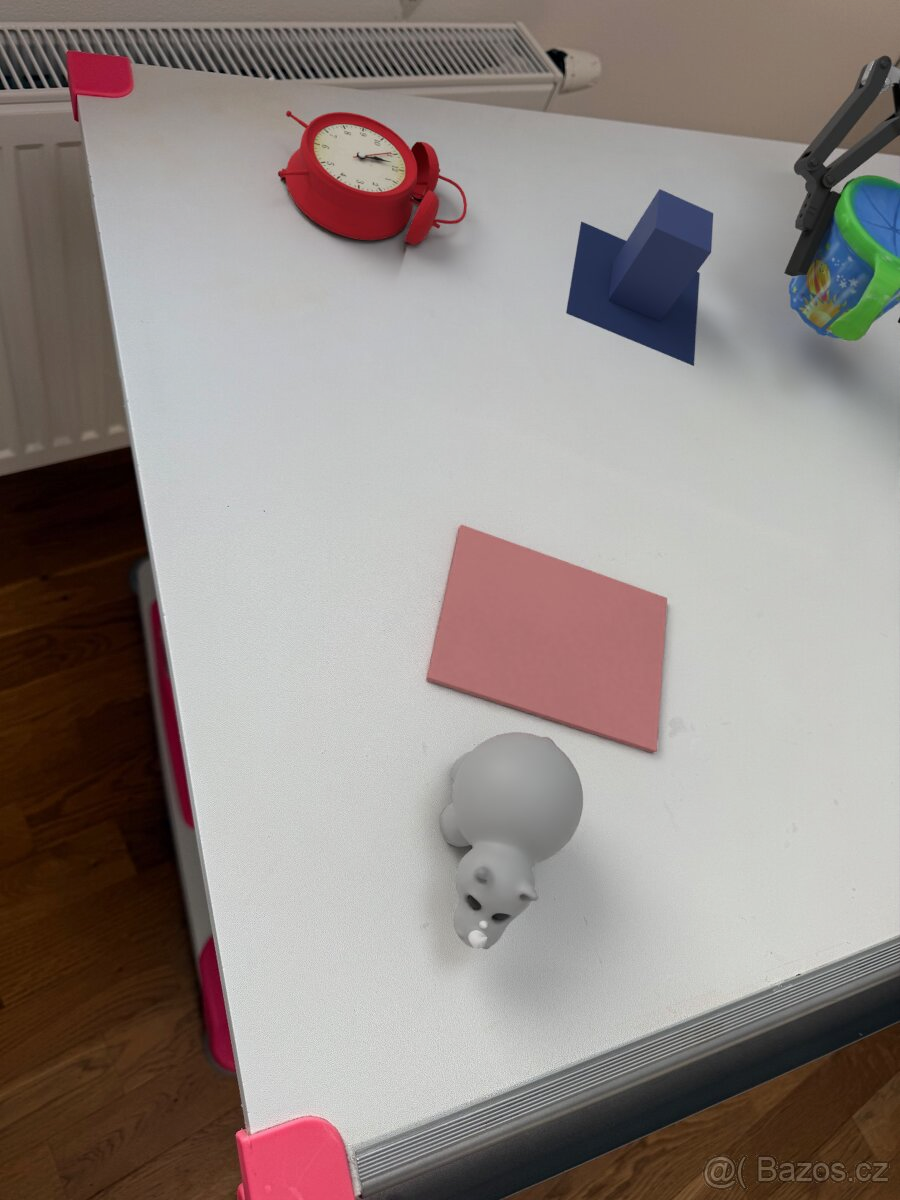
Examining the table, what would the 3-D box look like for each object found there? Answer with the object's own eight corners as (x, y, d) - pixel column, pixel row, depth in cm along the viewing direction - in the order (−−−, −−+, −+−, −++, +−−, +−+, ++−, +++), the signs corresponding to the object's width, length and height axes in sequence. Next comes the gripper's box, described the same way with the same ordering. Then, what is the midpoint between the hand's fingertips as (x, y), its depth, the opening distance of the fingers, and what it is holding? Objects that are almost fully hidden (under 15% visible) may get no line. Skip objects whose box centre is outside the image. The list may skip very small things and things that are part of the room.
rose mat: (664, 600, 70) (667, 597, 69) (653, 753, 64) (657, 751, 63) (458, 527, 67) (461, 523, 66) (425, 680, 61) (428, 677, 60)
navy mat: (696, 276, 89) (699, 272, 88) (691, 369, 83) (694, 365, 82) (578, 225, 87) (581, 220, 86) (563, 317, 80) (566, 312, 80)
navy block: (663, 283, 86) (713, 212, 79) (660, 322, 83) (711, 252, 77) (613, 261, 85) (659, 188, 78) (608, 300, 82) (655, 227, 76)
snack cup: (857, 395, 82) (947, 310, 73) (751, 331, 81) (829, 238, 73) (883, 291, 90) (966, 205, 82) (788, 233, 90) (861, 139, 81)
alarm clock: (284, 90, 76) (473, 108, 77) (287, 159, 81) (464, 176, 83) (272, 179, 71) (475, 197, 72) (277, 247, 76) (465, 263, 78)
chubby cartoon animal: (383, 934, 53) (432, 904, 46) (449, 743, 59) (501, 691, 52) (500, 984, 53) (566, 963, 46) (554, 790, 60) (619, 746, 53)
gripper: (1061, 95, 82) (941, 348, 87) (827, -23, 78) (715, 250, 82) (1130, 72, 75) (995, 349, 80) (877, -59, 70) (751, 242, 75)
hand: (853, 299), depth 81 cm, fingers closed on snack cup, 10 cm apart
